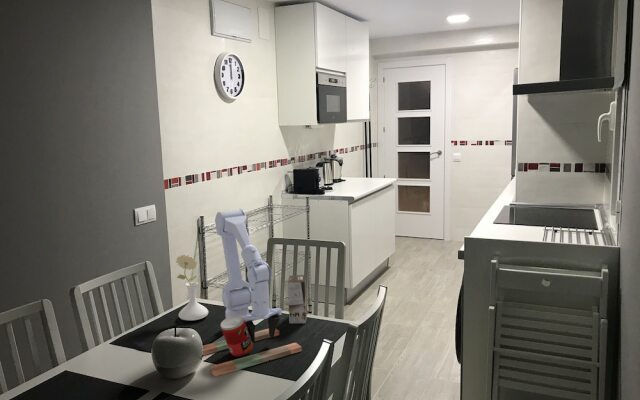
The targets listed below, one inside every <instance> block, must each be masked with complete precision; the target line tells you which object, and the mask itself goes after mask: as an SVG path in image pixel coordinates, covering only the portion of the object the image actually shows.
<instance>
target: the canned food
mask: <svg viewBox="0 0 640 400" xmlns="http://www.w3.org/2000/svg"><path fill="white" fill-rule="evenodd" d="M220 329H221V332H222V335H223V337H224V340H226V343H227V345H228V348H229V349H228V350H229V353H230V354H231V356H234V357H244V356H245V355H247V354H249V353H250V352H251V351H252V350H253V347H254V343H252V340H251V337H250V334H249V331H248V328H247V325H246V322H245V320H244V318H243V316H241V315H234V316H230V317H228V318H226V317H225V318H224V319H223V320H222V321H221V322H220Z"/></svg>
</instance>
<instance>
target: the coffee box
mask: <svg viewBox="0 0 640 400" xmlns="http://www.w3.org/2000/svg"><path fill="white" fill-rule="evenodd" d="M306 278H307V277H306V274H298V275H296V274H295V275H289V278H288V281H287V289H288V290H287V291H288V321H289V324H306V321H307V318H308V303H307V301H308V299H307V281H306V280H307V279H306Z"/></svg>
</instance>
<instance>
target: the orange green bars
mask: <svg viewBox="0 0 640 400" xmlns="http://www.w3.org/2000/svg"><path fill="white" fill-rule="evenodd" d="M277 336H280V330H278V329H277V328H276V329H275V333H274V337H277ZM268 338H271V337H270V336H269V328H266V329H262V330H258V331H255V342H257V341H261V340H265V339H268ZM202 346H203V356H205V355H210V354H213V353H218V352H220V351H224V350H229V348H228V345H227V343H226V340H225V339H223V340H220V341H215V342H212V343H207V344H205V345H204V344H203V345H202ZM302 349H303V348H302V346H301V345H300V344H298V343H297V342H292V343H289V344H287V345H286V344H285V345H282V346H279V347H275V348H271V349H268V350H265V351H261V352H258V353H254V354H250V355H247V356H242V357H240V358H236V359H233V360H229V361H225V362H222V363H218V364H215V365H211V366H209V372H210V373H211V374H212V375H213V376H214V377H219V376H222V375H226V374H229V373H233V372H235V371H238V370H239V371H240V370H241V369H247V368H248V367H252V366H256V365H259V364H262V363H266V362H269V360H270V361H273V360H275V359H280V358H282V357H287V356H289V355H292V354H293V355H294V354H297V353H299V352H302Z"/></svg>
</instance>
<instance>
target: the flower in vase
mask: <svg viewBox="0 0 640 400" xmlns="http://www.w3.org/2000/svg"><path fill="white" fill-rule="evenodd" d="M175 262H176V263H177V265H178V266H179V267H180V268H182V269H183V270H184V275H183V274H178V275H177V277H176V278H177V279H181V280H187V282H186V283H185V284H184V286H185V287H186V288H187V290H188V295H189V301H188V303H187V304H185V306H184V307H182V309H181V310H180V311H179V313H178V318H180V319H181V320H183V321H187V322H188V321H197V320H198V321H199V320H201V319H203V318H205V317H207V316H208V314H209V309H207V307H206V306H204V305H202V304H200V303H199V302H197V298H196V289H197V286H198V285H199V282H197V281H192V280H194V279H195V278H197V274H196V275H193V276H192V277H190V278H188V277H187V276H186V271H188V270H189V271H191V270H194V269H196V267H197V261H196V259H195V258H193V257H192V256H190V255H188V254H187V255H185V254H181V255H180V256H177V257H176V260H175Z"/></svg>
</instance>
